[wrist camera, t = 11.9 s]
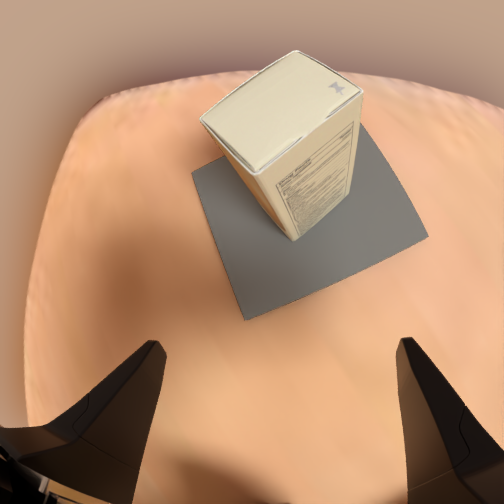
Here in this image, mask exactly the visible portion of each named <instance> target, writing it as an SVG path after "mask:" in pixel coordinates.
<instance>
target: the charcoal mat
mask: <svg viewBox="0 0 504 504" xmlns="http://www.w3.org/2000/svg"><path fill="white" fill-rule="evenodd" d="M192 176H193V179H194V182H195V185H196V188H197V191H198V194H199V196H200V199H201V202H202V205H203V208H204V211H205V214H206V217H207V219H208V222H209V225H210V228H211V231H212V234H213V236H214V239H215V242H216V245H217V248H218V250H219V253H220V256H221V259H222V261H223V264H224V267H225V269H226V272H227V275H228V278H229V280H230V283H231V286H232V288H233V291H234V294H235V296H236V299H237V301H238V304H239V307H240V309H241V312H242V315H243V317H244V320H249V319H251V318H254V317H257V316H259V315H262V314H264V313H267V312H269V311H271V310H274V309H276V308H279V307H281V306H284V305H286V304H288V303H291V302H293V301H296V300H298V299H300V298H303V297H305V296H307V295H309V294H312V293H314V292H316V291H319V290H321V289H323V288H325V287H328V286H330V285H332V284H334V283H336V282H339V281H341V280H343V279H345V278H347V277H349V276H352V275H354V274H356V273H358V272H360V271H362V270H364V269H366V268H368V267H371V266H373V265H375V264H377V263H379V262H381V261H383V260H385V259H387V258H389V257H391V256H393V255H395V254H397V253H399V252H401V251H403V250H405V249H407V248H409V247H410V246H412V245H414V244H416V243H418V242H420V241H422V240H424V239H426V238H427V237H428V234H427V232H426V229H425V227H424V225H423V223H422V221H421V219H420V218H419V216H418V214H417V212H416V210H415V208H414V206H413V204H412V202H411V201H410V199H409V197H408V195H407V193H406V192H405V190H404V188H403V186H402V185H401V183H400V181H399V180H398V178H397V176H396V175H395V173H394V171H393V170H392V168H391V167H390V165H389V163H388V162H387V160H386V159H385V157H384V156H383V154H382V153H381V151H380V150H379V148H378V147H377V145H376V144H375V142H374V141H373V139H372V138H371V136H370V135H369V134H368V132H367V131H366V129H365V128H364V127H363V125H362V124H361V123H360V127H359V135H358V142H357V148H356V155H355V161H354V168H353V174H352V180H351V185H350V191H349V194H348V195H347V196H346V197H345V198H344V199H343V200H342V201H341V202H339V203H338V204H337V205H336V206H335V207H334V208H333V209H332V210H331V211H330V212H329V213H328V214H326V215H325V216H324V217H323V218H322V219H321V220H320V221H319V222H317V223H316V224H315V225H314V226H313V227H312V228H310V229H309V230H308V231H307V232H306V233H304V234H303V235H302V236H301V237H299V238H298V239H297V240H296V241H291V240H290V239H289V238H288V237H287V236H286V235H285V233H284V232H283V231H282V230H281V229H280V228H279V227H278V226H277V224H276V223H275V222H274V221H273V220H272V218H271V217H270V216H269V215H268V214H267V213H266V211H265V210H264V209H263V208H262V207H261V205H260V204H259V202H258V201H257V200H256V198H255V197H254V195H253V194H252V193H251V191H250V190H249V188H248V187H247V185H246V184H245V183H244V181H243V180H242V178H241V177H240V175H239V174H238V173H237V171H236V170H235V168H234V167H233V166H232V164H231V163H230V162H229V160H228V159H227V157H226V156H223V157H221V158H219V159H217V160H215V161H213V162H211V163H209V164H207V165H205V166H203V167H201V168H199V169H197V170H196V171H194V172H192Z"/></svg>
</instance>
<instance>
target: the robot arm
mask: <svg viewBox="0 0 504 504" xmlns="http://www.w3.org/2000/svg"><path fill="white" fill-rule="evenodd" d="M166 358H167V355H166V352H165V350H164V349H163V347H162V346H161V344H160V343H159V341H156V340H148V341H147V342H146V343H144V344H143V345H142V346H141V347H140V348H139V349H138V350H136V351H135V352H134V353H133V354H132V355H131V356H130V357H128V358H127V359H126V360H125V361H124V362H123V363H122V364H120V365H119V366H118V367H117V368H116V369H115V370H114V371H113V372H111V373H110V374H109V375H108V376H107V377H106V378H105V379H103V380H102V381H101V382H100V383H99V384H98V385H97V386H96V387H94V388H93V389H92V390H91V391H90V392H89V393H87V394H86V395H85V396H84V397H83V398H82V399H81V400H79V401H78V402H77V403H76V404H75V405H73V406H72V407H71V408H69V409H68V410H67V411H65V412H64V413H62V414H61V415H60V416H58V417H57V418H55V419H54V420H53V421H51V422H50V423H48V424H46V425H43V426H36V427H23V428H4V427H3V426H1V425H0V504H109V503H112V504H132V501H133V496H134V492H135V488H136V483H137V479H138V475H139V470H140V466H141V462H142V458H143V454H144V450H145V446H146V442H147V438H148V434H149V431H150V427H151V423H152V420H153V416H154V412H155V409H156V405H157V402H158V398H159V395H160V391H161V386H162V381H163V375H164V369H165V364H166ZM396 366H397V381H398V396H399V404H400V410H401V417H402V425H403V433H404V443H405V453H406V466H407V486H408V504H504V450H503V449H502V448H501V447H500V446H499V445H498V444H497V443H496V441H495V440H494V439H493V438H492V437H491V436H490V435H489V434H488V433H487V431H486V430H485V429H484V428H483V427H482V426H481V424H480V423H479V422H478V421H477V419H476V418H475V417H474V415H473V414H472V413H471V411H470V410H469V409H468V407H467V406H465V403H464V402H463V401H462V399H461V398H460V397H459V395H458V394H457V393H456V391H455V390H454V389H453V387H452V386H451V385H450V383H449V382H448V381H447V379H446V378H445V377H444V376H443V374H442V373H441V372H440V371H439V369H438V368H437V367H436V366H435V364H434V363H433V362H432V361H431V359H430V358H429V357H428V356H427V354H426V353H425V352H424V351H423V349H422V348H421V347H420V346H419V345H418V343H417V342H416V341H415V340H414V339H413V338H412V337H405V338H401V339H400V342H399V345H398V348H397V351H396Z"/></svg>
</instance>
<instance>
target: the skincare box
mask: <svg viewBox="0 0 504 504" xmlns="http://www.w3.org/2000/svg"><path fill="white" fill-rule="evenodd" d="M362 102H363V90H362V89H361V88H360V87H359V86H357V85H355V84H354V83H352V82H351V81H350V80H348V79H347V78H345V77H344V76H342V75H341V74H339V73H338V72H336V71H334V70H333V69H331V68H329V67H328V66H326V65H325V64H323V63H321V62H319V61H318V60H316V59H314V58H312V57H310V56H308V55H306V54H304V53H302V52H300V51H298V50H295V51H292V52H291V53H289V54H287V55H285V56H284V57H282V58H280V59H279V60H277V61H275V62H274V63H272V64H270V65H269V66H267V67H265V68H264V69H263V70H261V71H259V72H258V73H257V74H255V75H254V76H252V77H251V78H249V79H248V80H247V81H245V82H244V83H242V84H241V85H240V86H238V87H237V88H236V89H234V90H233V91H232V92H230V93H229V94H228V95H226V96H225V97H224V98H223V99H221V100H220V101H219V102H218V103H216V104H215V105H214V106H213V107H212V108H211V109H209V110H208V111H207V112H206V113H204V114H203V115H202V116H201V117H200V118H199V120H200V122H201V123H202V125H203V126H204V127H205V129H206V130H207V131H208V133H209V134H210V135H211V137H212V138H213V139H214V141H215V142H216V143H217V145H218V146H219V148H220V149H221V150H222V152H223V153H224V155H225V156H226V157H227V159H228V160H229V162H230V163H231V164H232V166H233V167H234V168H235V170H236V171H237V173H238V174H239V175H240V177H241V178H242V180H243V181H244V183H245V184H246V185H247V187H248V188H249V190H250V191H251V193H252V194H253V195H254V197H255V198H256V200H257V201H258V202H259V204H260V205H261V207H262V208H263V209H264V210H265V211H266V213H267V214H268V215H269V216H270V217H271V218H272V220H273V221H274V222H275V223H276V224H277V226H278V227H279V228H280V229H281V230H282V231H283V232H284V233H285V235H286V236H287V237H288V238H289V239H290V240H291V241H296V240H297V239H298V238H299V237H301V236H302V235H303V234H304V233H306V232H307V231H308V230H309V229H310V228H312V227H313V226H314V225H315V224H316V223H317V222H319V221H320V220H321V219H322V218H323V217H324V216H325V215H326V214H328V213H329V212H330V211H331V210H332V209H333V208H334V207H335V206H336V205H337V204H338V203H339V202H341V201H342V200H343V199H344V198H345V197H346V196H347V195H348V194H349V191H350V185H351V180H352V174H353V168H354V161H355V155H356V148H357V142H358V135H359V127H360V119H361V110H362Z"/></svg>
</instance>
